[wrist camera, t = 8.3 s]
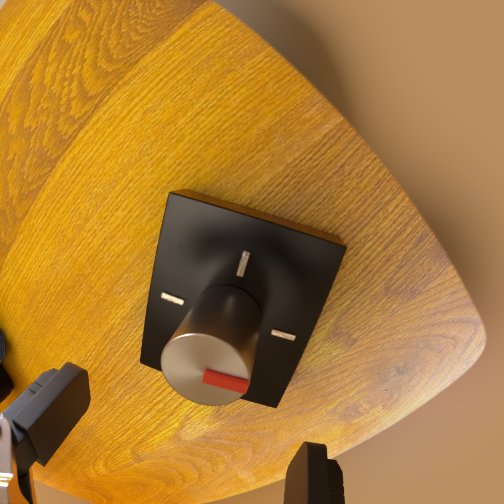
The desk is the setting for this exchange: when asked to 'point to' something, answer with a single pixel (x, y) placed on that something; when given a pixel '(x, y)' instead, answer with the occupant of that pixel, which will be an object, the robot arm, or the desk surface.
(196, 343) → the hob knob
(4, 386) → the film camera
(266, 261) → the hob panel
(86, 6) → the desk surface
